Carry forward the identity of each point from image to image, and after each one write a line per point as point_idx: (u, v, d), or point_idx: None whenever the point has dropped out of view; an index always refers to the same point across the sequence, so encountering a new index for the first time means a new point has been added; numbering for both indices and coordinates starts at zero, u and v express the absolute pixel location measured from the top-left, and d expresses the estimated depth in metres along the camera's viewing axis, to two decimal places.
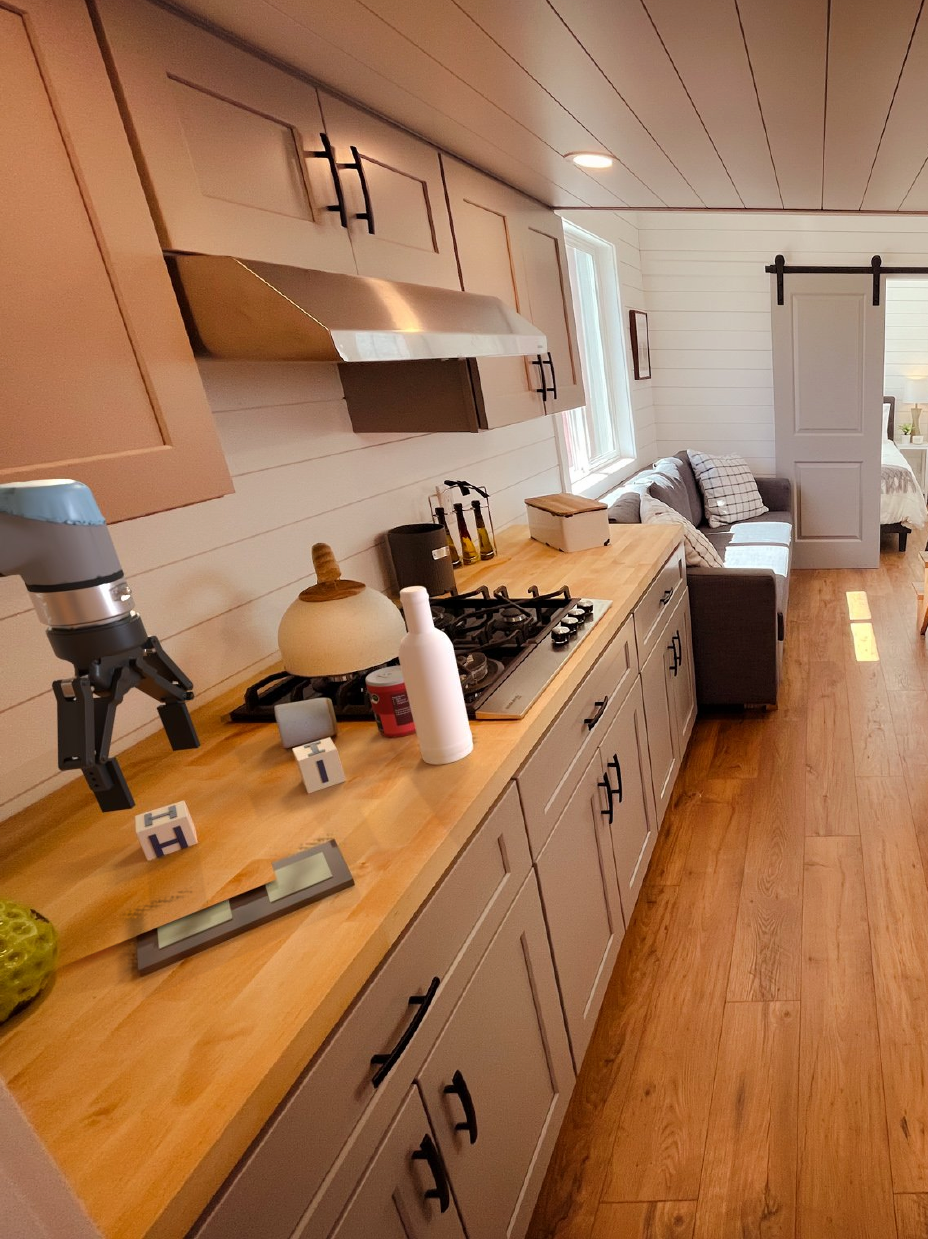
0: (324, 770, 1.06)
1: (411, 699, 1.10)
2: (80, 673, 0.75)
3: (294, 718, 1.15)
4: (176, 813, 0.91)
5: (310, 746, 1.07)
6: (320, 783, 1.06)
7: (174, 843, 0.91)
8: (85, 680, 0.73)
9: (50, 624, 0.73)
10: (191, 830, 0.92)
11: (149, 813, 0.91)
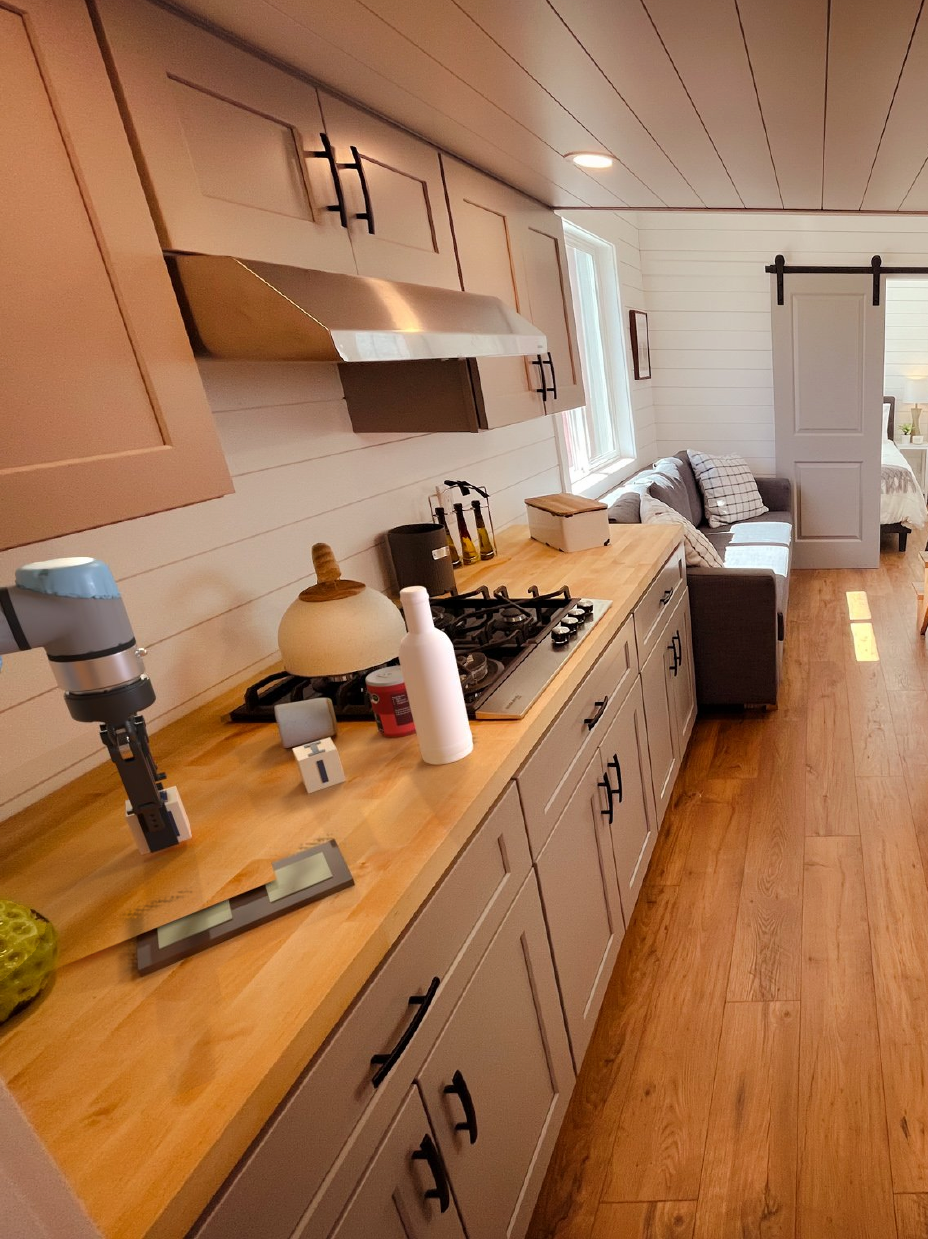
0: (324, 770, 1.06)
1: (411, 699, 1.10)
2: (116, 734, 0.83)
3: (294, 718, 1.15)
4: (167, 797, 0.90)
5: (310, 746, 1.07)
6: (320, 783, 1.06)
7: None
8: (139, 742, 0.83)
9: (85, 689, 0.80)
10: (182, 815, 0.90)
11: None
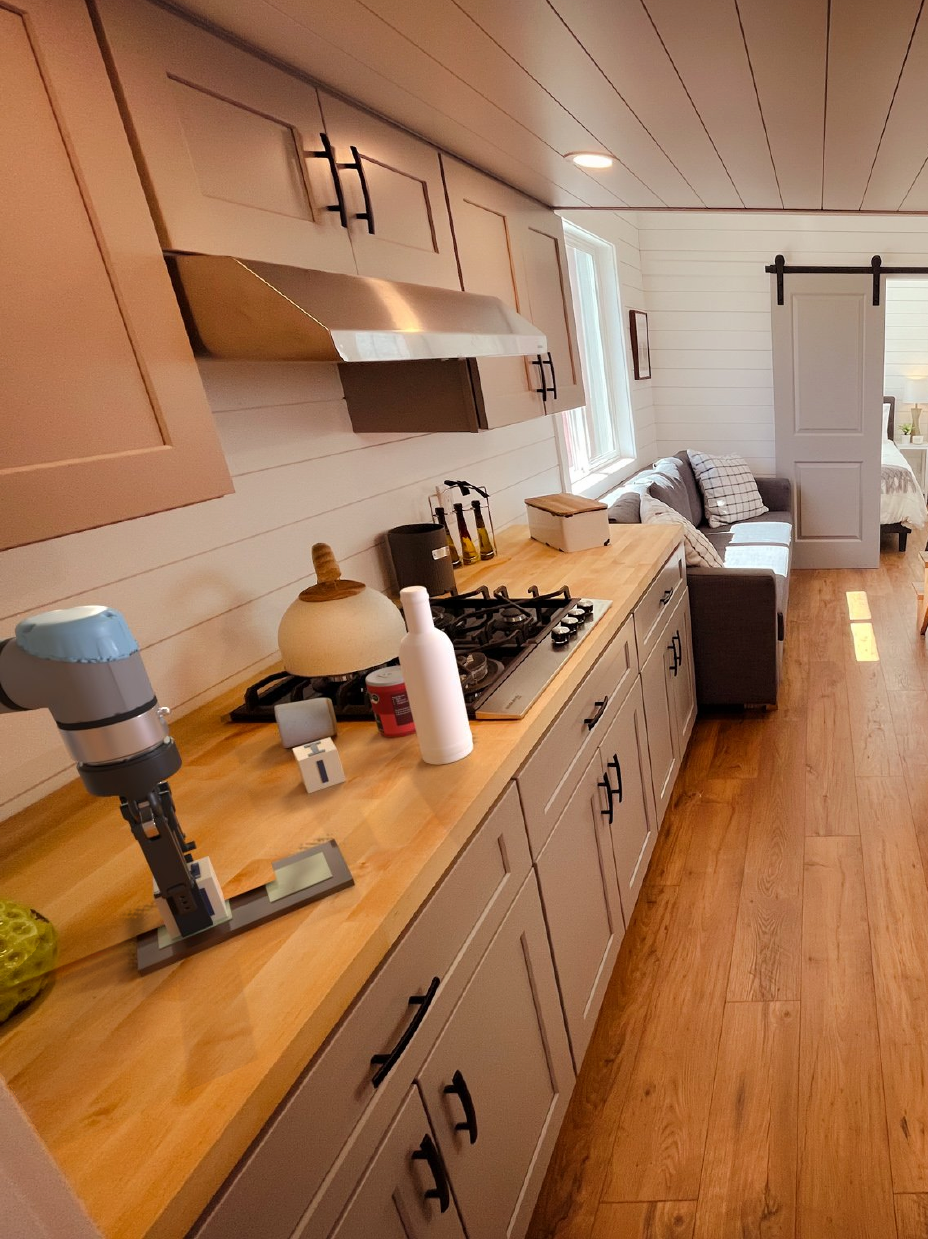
0: (324, 770, 1.06)
1: (411, 699, 1.10)
2: (139, 809, 0.72)
3: (294, 718, 1.15)
4: (199, 872, 0.79)
5: (310, 746, 1.07)
6: (320, 783, 1.06)
7: None
8: (165, 818, 0.72)
9: (102, 760, 0.69)
10: (217, 892, 0.80)
11: None
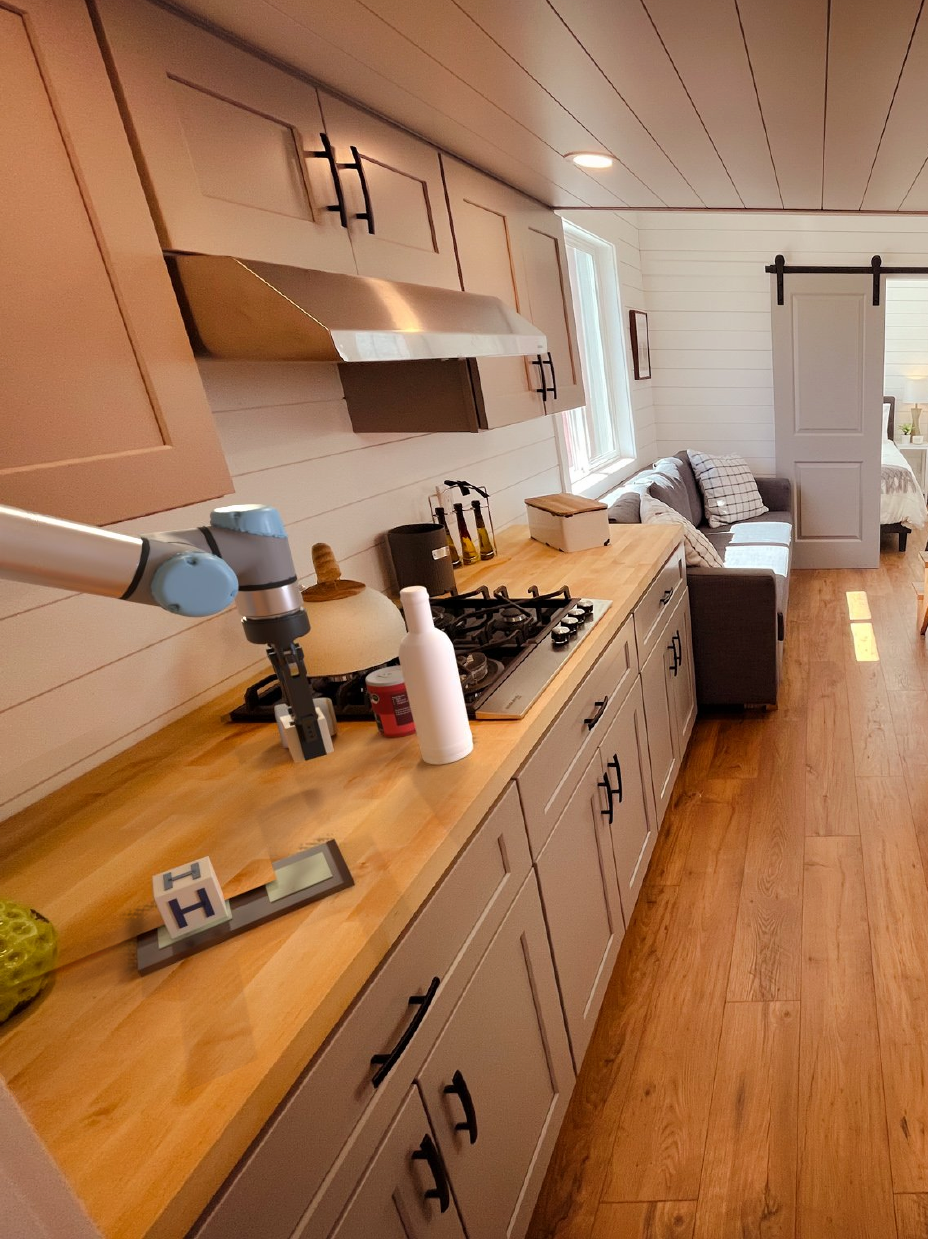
0: None
1: (411, 699, 1.10)
2: (284, 655, 0.98)
3: None
4: (199, 872, 0.79)
5: None
6: None
7: (197, 907, 0.79)
8: (303, 662, 0.98)
9: (262, 615, 0.95)
10: (217, 892, 0.80)
11: (169, 873, 0.79)
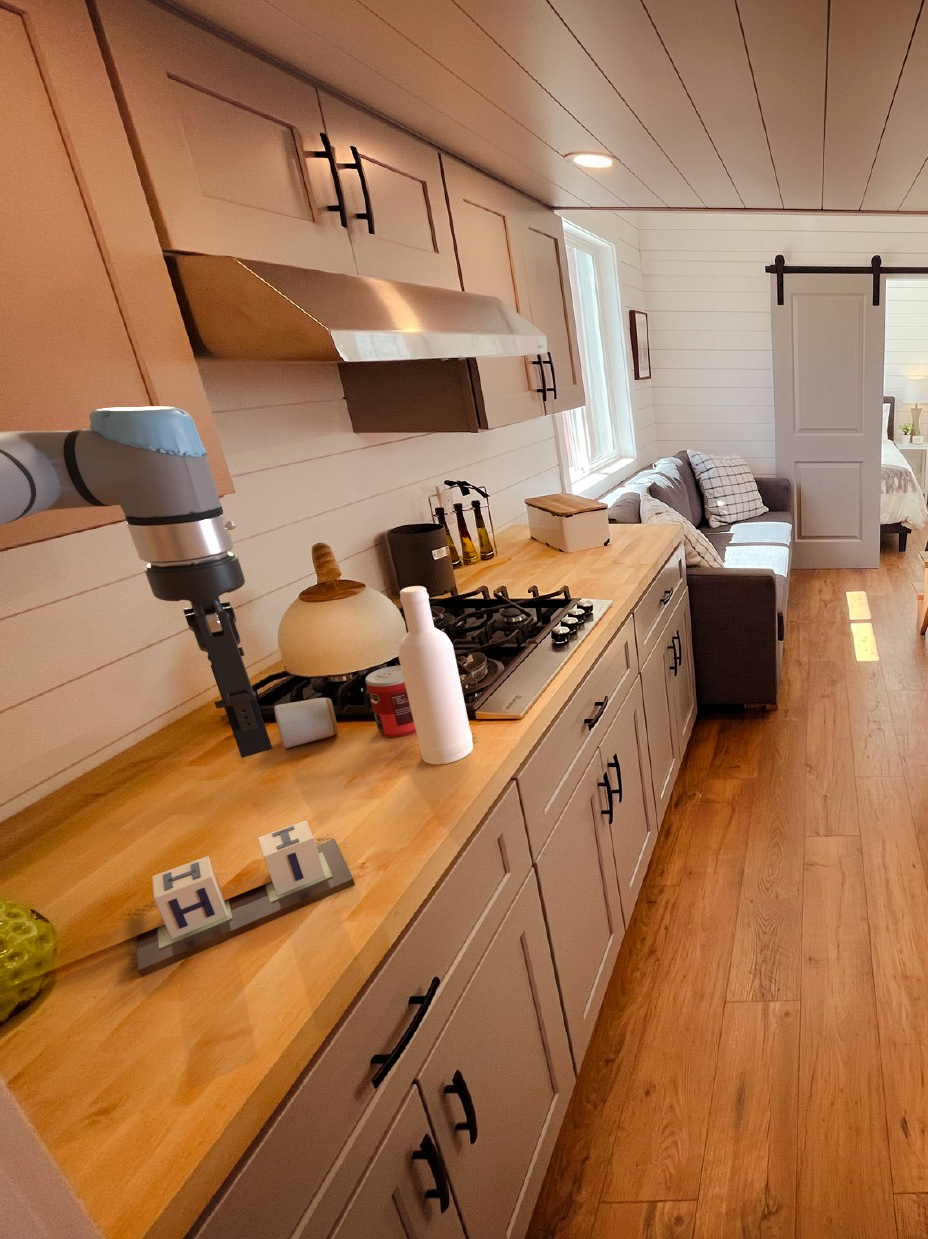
0: (297, 865, 0.85)
1: (411, 699, 1.10)
2: (204, 611, 0.71)
3: (294, 718, 1.15)
4: (199, 872, 0.79)
5: (280, 835, 0.86)
6: (292, 881, 0.85)
7: (197, 907, 0.79)
8: (228, 613, 0.71)
9: (171, 560, 0.69)
10: (217, 892, 0.80)
11: (169, 873, 0.79)
